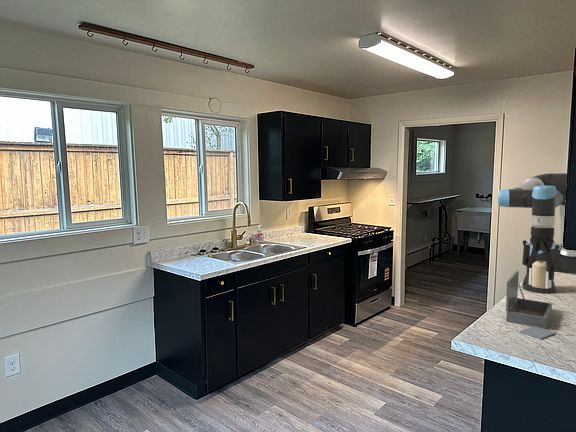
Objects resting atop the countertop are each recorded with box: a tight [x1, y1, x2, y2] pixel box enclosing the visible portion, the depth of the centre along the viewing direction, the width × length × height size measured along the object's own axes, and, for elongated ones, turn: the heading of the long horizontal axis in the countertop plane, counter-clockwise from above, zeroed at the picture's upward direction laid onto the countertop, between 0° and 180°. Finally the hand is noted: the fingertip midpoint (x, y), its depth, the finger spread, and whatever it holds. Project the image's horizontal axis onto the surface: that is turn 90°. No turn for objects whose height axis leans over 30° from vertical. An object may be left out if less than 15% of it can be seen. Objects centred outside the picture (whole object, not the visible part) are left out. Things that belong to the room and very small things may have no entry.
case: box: [505, 270, 553, 330], centre depth 173 cm, size 23×14×18 cm, turn 141°
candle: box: [532, 260, 548, 288], centre depth 154 cm, size 6×6×10 cm
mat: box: [519, 326, 556, 340], centre depth 157 cm, size 10×8×1 cm
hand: (539, 285), depth 155 cm, fingers closed on candle, 5 cm apart
